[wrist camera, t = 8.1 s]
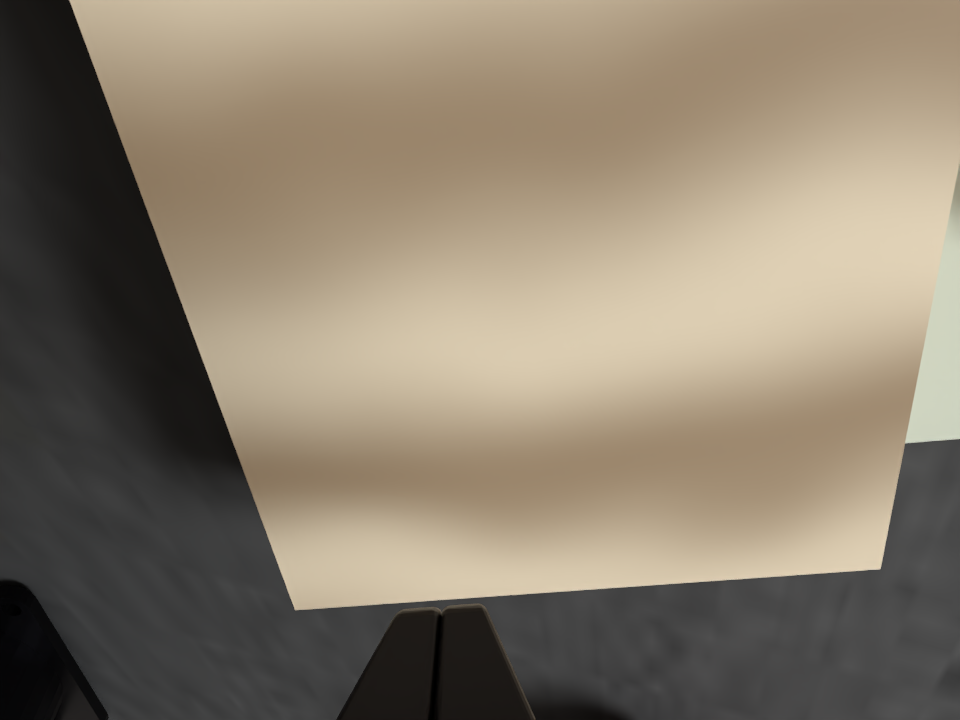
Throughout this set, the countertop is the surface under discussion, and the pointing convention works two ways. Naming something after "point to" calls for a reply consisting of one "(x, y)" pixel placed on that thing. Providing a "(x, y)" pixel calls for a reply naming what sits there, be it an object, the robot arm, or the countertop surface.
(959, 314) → the mat
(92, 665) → the countertop surface
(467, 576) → the soap dish
